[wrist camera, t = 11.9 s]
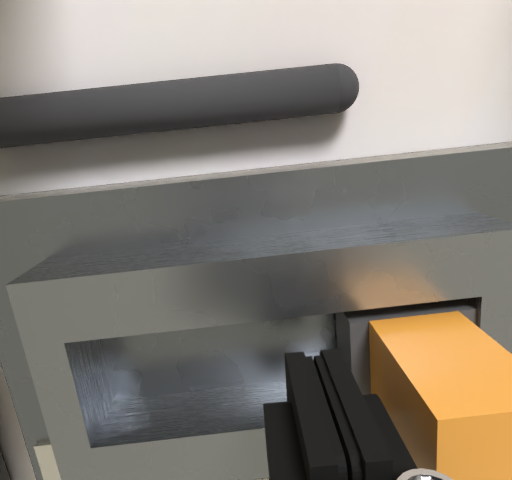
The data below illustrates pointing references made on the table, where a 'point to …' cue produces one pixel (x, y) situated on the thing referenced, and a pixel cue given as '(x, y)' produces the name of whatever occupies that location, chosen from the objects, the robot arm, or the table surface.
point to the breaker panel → (220, 219)
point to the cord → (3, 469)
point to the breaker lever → (436, 383)
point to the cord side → (176, 104)
